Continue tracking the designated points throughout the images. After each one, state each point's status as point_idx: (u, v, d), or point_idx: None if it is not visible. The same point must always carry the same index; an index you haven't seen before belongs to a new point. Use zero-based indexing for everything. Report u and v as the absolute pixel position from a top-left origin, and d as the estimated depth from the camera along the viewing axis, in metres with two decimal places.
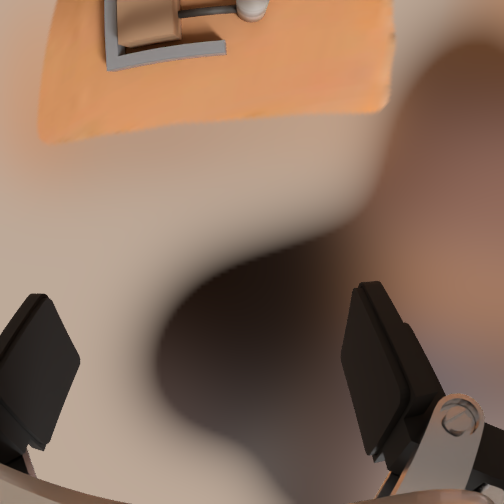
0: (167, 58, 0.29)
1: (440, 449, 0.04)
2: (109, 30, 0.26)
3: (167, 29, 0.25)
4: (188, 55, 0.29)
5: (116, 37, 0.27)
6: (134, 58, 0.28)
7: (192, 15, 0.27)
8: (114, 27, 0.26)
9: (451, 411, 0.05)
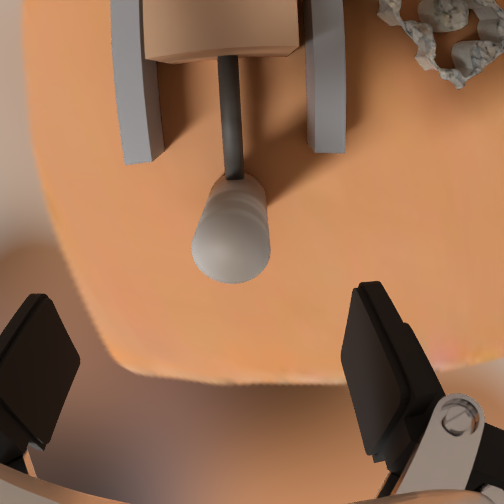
0: (114, 46, 0.12)
1: (440, 449, 0.04)
2: None
3: (157, 43, 0.10)
4: (117, 90, 0.13)
5: None
6: None
7: (220, 86, 0.14)
8: None
9: (451, 411, 0.05)
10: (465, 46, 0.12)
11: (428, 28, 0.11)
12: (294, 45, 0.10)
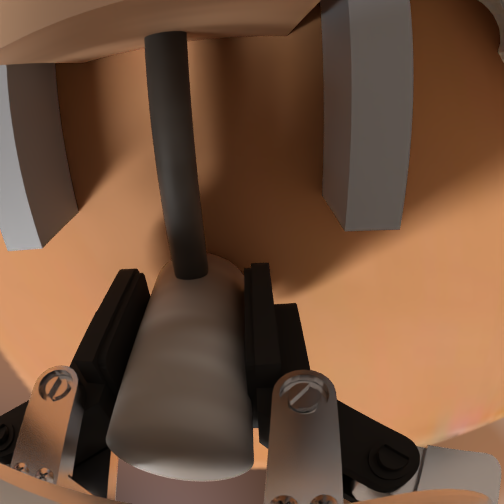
0: None
1: (294, 431, 0.05)
2: None
3: None
4: None
5: None
6: None
7: (150, 99, 0.06)
8: None
9: (294, 390, 0.06)
10: None
11: None
12: None
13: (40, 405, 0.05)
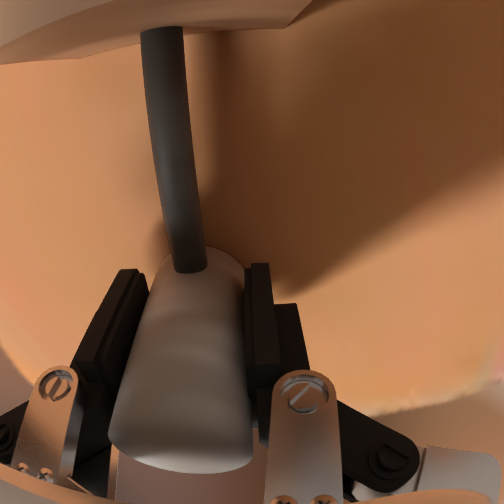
0: None
1: (294, 431, 0.05)
2: None
3: None
4: None
5: None
6: None
7: (147, 94, 0.06)
8: None
9: (293, 390, 0.06)
10: None
11: None
12: None
13: (40, 405, 0.05)
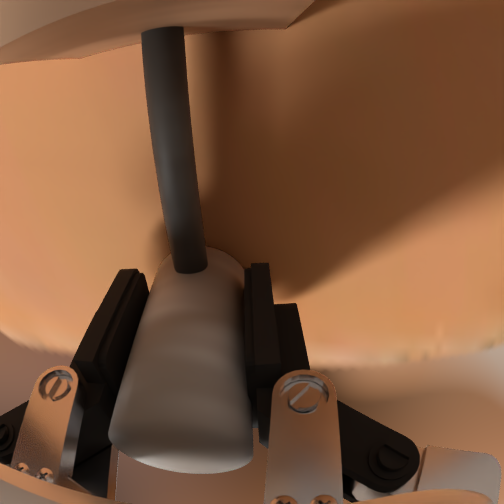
0: None
1: (294, 431, 0.05)
2: None
3: None
4: None
5: None
6: None
7: (147, 95, 0.06)
8: None
9: (293, 390, 0.06)
10: None
11: None
12: None
13: (40, 405, 0.05)
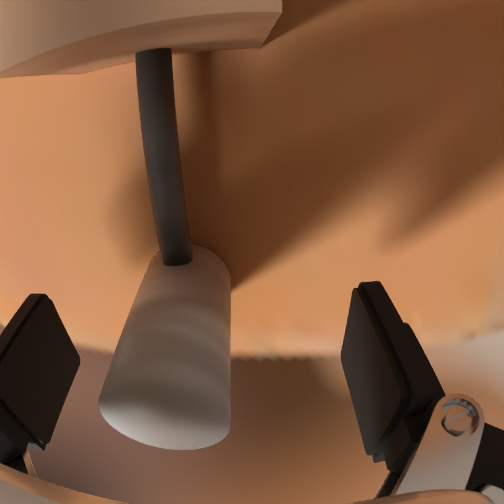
0: None
1: (440, 449, 0.04)
2: None
3: (1, 45, 0.04)
4: None
5: None
6: None
7: (140, 107, 0.08)
8: None
9: (451, 411, 0.05)
10: None
11: None
12: (271, 10, 0.04)
13: None
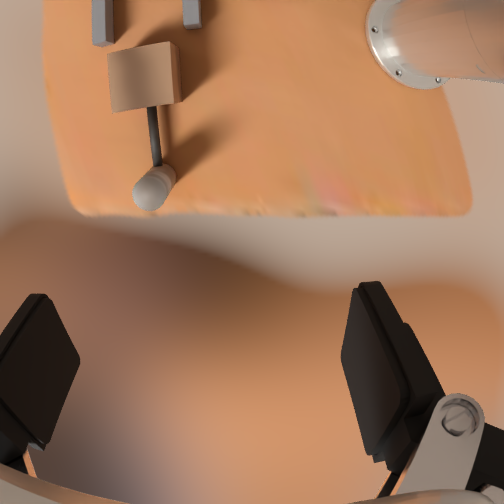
0: None
1: (440, 449, 0.04)
2: None
3: (117, 106, 0.25)
4: (92, 11, 0.22)
5: None
6: None
7: (148, 121, 0.29)
8: None
9: (451, 411, 0.05)
10: None
11: None
12: (172, 103, 0.26)
13: None
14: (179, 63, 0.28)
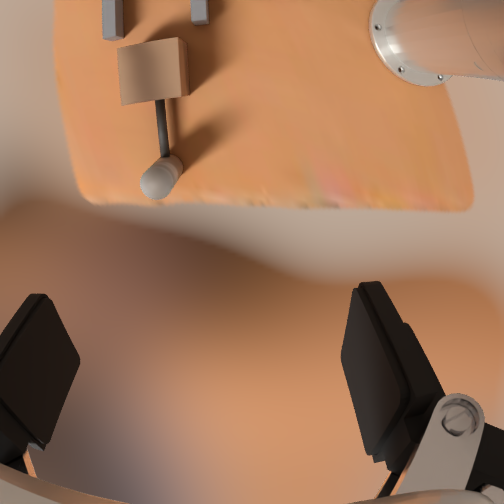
0: None
1: (440, 449, 0.04)
2: None
3: (126, 99, 0.26)
4: (103, 7, 0.23)
5: None
6: None
7: (156, 113, 0.30)
8: None
9: (451, 411, 0.05)
10: None
11: None
12: (179, 96, 0.26)
13: None
14: (187, 58, 0.28)
